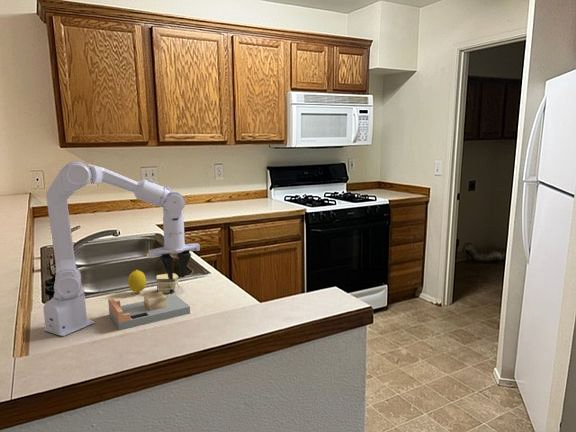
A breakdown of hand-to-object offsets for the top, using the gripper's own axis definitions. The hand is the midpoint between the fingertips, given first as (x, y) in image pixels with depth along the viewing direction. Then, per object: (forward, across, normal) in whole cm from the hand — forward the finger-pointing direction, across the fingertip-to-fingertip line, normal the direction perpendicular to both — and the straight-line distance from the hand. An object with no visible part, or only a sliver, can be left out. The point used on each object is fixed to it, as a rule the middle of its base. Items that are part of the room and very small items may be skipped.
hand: (176, 277), depth 124 cm
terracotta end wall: (+7, -16, 0) cm, 18 cm away
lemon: (+10, -6, +19) cm, 22 cm away
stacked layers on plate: (+10, +2, +16) cm, 19 cm away
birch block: (+7, -6, 0) cm, 10 cm away
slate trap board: (+9, -9, 0) cm, 13 cm away
